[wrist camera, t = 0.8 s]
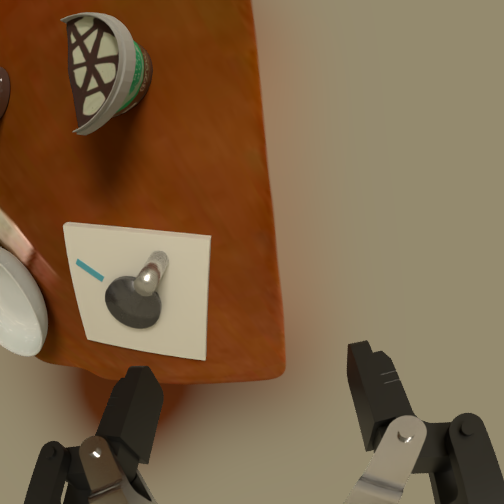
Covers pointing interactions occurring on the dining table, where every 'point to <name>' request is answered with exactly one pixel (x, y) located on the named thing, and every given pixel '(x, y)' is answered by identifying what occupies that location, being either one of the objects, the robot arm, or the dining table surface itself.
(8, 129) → the dining table surface
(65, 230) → the dial plate
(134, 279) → the dial
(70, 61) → the food container
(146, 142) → the dining table surface
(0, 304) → the serving bowl
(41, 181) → the dining table surface
